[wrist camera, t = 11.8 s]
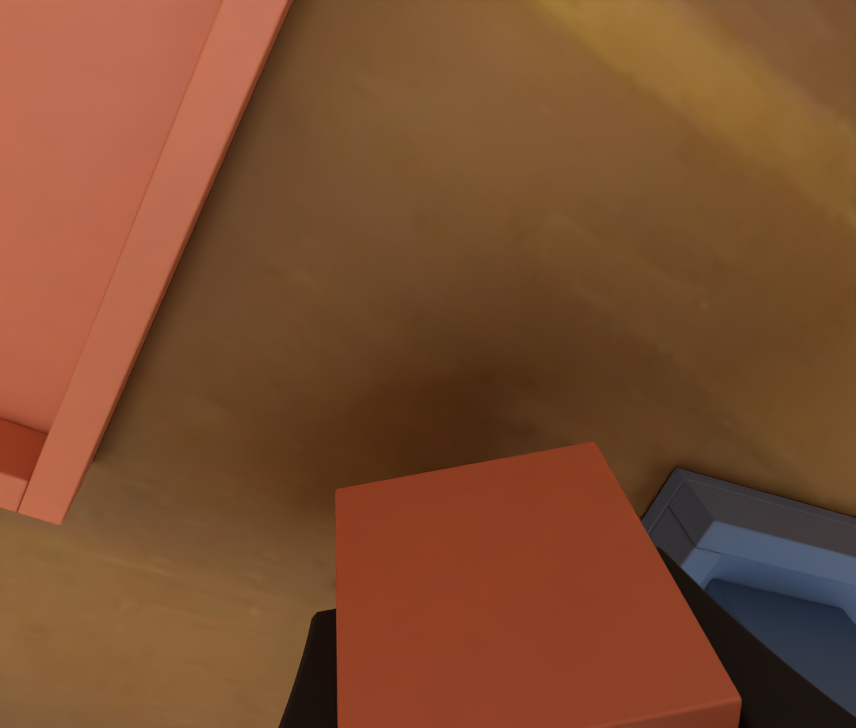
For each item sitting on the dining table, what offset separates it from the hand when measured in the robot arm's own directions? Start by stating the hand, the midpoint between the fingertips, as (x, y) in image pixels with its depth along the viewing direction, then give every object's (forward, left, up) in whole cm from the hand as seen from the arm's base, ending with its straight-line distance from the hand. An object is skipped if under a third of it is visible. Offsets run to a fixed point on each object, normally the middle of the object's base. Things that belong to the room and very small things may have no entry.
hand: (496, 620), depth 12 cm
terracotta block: (0, 0, -1) cm, 1 cm away
